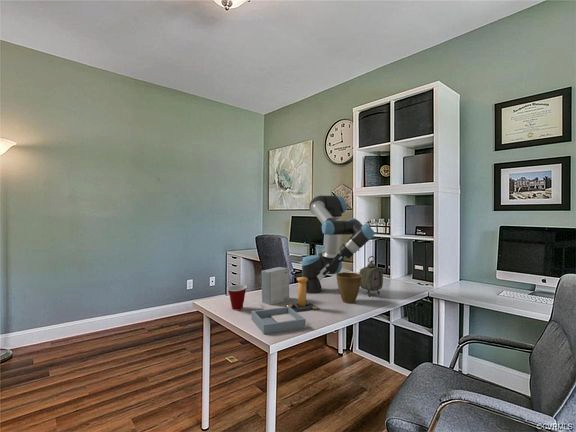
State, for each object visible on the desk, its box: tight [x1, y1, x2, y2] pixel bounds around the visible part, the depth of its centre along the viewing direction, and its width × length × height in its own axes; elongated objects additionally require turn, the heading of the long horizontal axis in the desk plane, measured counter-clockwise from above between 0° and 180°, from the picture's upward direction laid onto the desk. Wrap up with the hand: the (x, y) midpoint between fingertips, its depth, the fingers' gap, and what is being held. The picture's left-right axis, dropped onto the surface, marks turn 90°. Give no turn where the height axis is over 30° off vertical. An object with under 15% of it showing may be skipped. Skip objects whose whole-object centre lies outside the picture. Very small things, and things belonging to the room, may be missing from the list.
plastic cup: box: [226, 284, 248, 311], centre depth 167 cm, size 11×11×12 cm
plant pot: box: [335, 271, 362, 304], centre depth 182 cm, size 15×15×16 cm
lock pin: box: [296, 276, 308, 307], centre depth 165 cm, size 6×6×16 cm
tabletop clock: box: [358, 255, 384, 297], centre depth 197 cm, size 14×9×25 cm, turn 131°
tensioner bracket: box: [284, 302, 321, 313], centre depth 165 cm, size 16×12×3 cm
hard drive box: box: [261, 266, 290, 306], centre depth 177 cm, size 16×8×20 cm, turn 135°
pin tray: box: [251, 306, 306, 335], centre depth 146 cm, size 20×20×4 cm
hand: (320, 275), depth 162 cm, fingers open, 13 cm apart
